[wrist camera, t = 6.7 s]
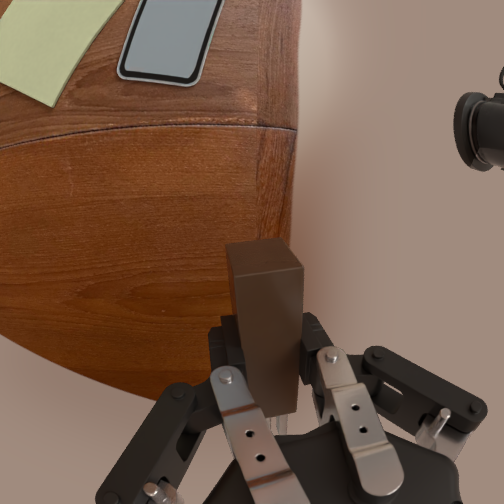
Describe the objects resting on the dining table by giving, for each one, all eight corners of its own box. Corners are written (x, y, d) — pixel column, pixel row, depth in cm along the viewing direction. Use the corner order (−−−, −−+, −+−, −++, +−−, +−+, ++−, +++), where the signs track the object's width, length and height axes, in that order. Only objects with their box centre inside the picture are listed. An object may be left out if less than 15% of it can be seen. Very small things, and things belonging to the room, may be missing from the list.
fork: (218, 244, 13) (224, 277, 10) (287, 235, 13) (312, 265, 11) (244, 432, 19) (251, 466, 16) (285, 424, 20) (295, 457, 17)
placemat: (72, -64, 10) (71, -66, 9) (169, -44, 14) (168, -47, 14) (-25, 69, 14) (-28, 69, 13) (53, 107, 19) (51, 107, 18)
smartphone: (113, 78, 19) (165, -53, 14) (116, 79, 20) (166, -49, 14) (197, 88, 21) (242, -44, 15) (197, 90, 21) (241, -40, 16)
